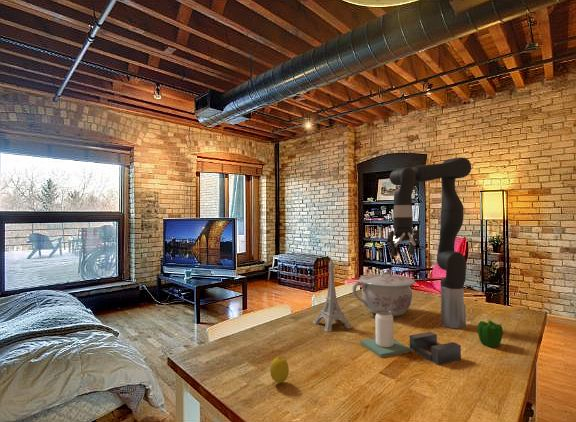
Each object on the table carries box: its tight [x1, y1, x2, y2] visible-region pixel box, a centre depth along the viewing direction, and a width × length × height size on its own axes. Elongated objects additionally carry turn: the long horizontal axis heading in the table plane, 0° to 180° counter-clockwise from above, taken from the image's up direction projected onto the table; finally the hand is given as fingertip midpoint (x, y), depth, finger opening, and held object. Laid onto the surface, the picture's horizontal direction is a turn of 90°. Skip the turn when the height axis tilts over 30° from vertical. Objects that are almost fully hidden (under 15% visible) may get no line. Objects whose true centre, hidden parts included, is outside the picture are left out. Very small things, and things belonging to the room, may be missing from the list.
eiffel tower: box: [312, 258, 353, 333], centre depth 145 cm, size 13×13×30 cm
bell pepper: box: [476, 319, 504, 348], centre depth 122 cm, size 8×8×10 cm
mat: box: [359, 337, 412, 358], centre depth 120 cm, size 13×13×1 cm
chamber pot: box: [351, 271, 416, 318], centre depth 162 cm, size 28×28×21 cm
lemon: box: [269, 356, 290, 385], centre depth 95 cm, size 6×6×8 cm
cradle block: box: [409, 331, 462, 366], centre depth 114 cm, size 11×14×5 cm
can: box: [374, 310, 395, 348], centre depth 120 cm, size 6×6×12 cm
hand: (403, 255), depth 132 cm, fingers open, 8 cm apart
